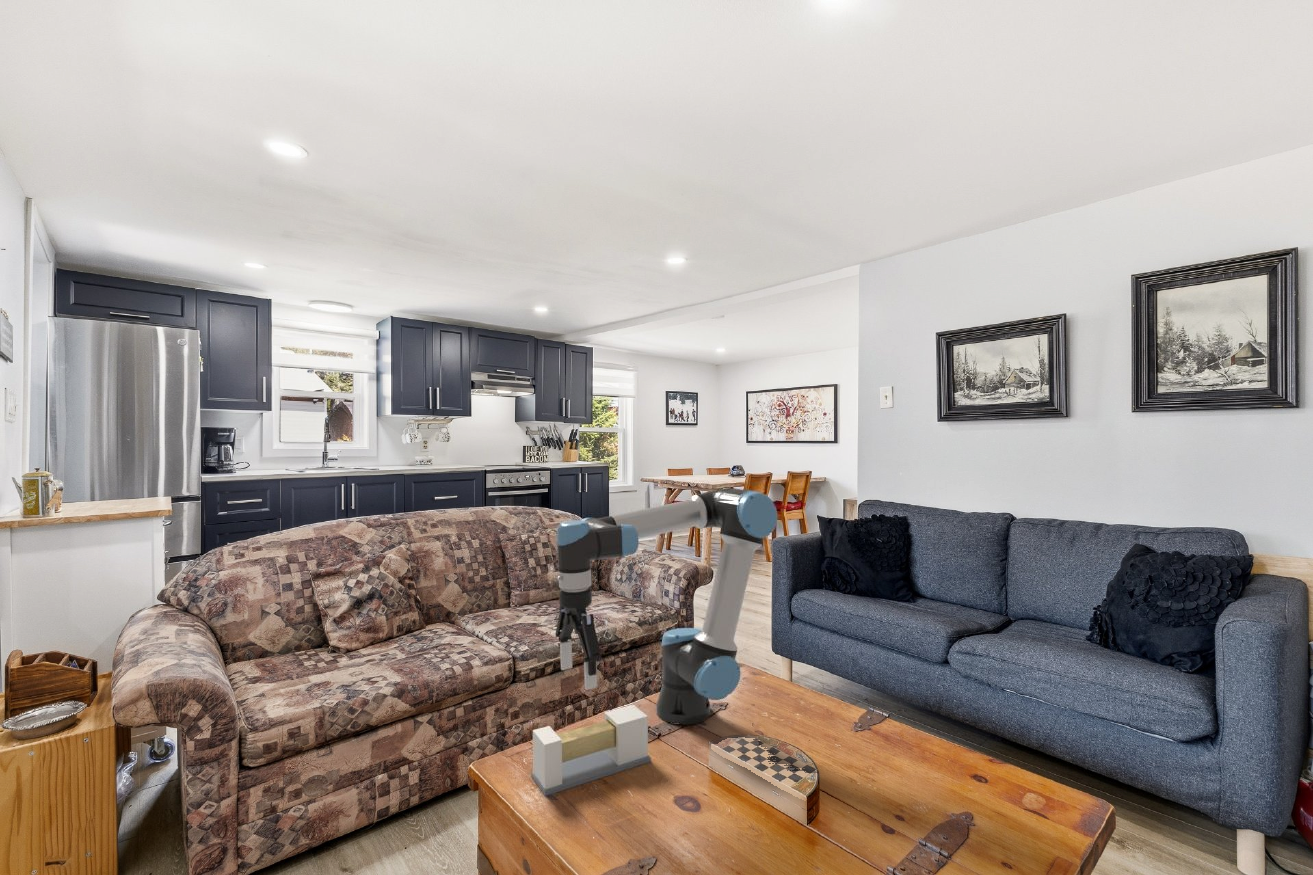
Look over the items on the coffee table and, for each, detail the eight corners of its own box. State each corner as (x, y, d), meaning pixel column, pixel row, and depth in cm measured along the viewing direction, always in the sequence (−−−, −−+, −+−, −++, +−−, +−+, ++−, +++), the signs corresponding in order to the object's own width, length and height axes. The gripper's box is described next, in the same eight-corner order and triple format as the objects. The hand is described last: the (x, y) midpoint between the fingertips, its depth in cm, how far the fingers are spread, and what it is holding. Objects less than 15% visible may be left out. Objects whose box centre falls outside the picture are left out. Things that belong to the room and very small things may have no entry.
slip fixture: (632, 744, 154) (632, 702, 154) (650, 761, 146) (650, 716, 146) (531, 775, 140) (530, 729, 140) (545, 795, 132) (544, 746, 132)
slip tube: (611, 737, 148) (611, 718, 148) (620, 745, 144) (619, 726, 144) (540, 758, 139) (540, 738, 139) (547, 767, 135) (547, 747, 135)
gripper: (540, 579, 152) (543, 664, 152) (583, 603, 130) (586, 701, 131) (568, 575, 156) (571, 657, 156) (614, 596, 134) (617, 692, 135)
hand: (578, 678), depth 143 cm, fingers open, 13 cm apart
